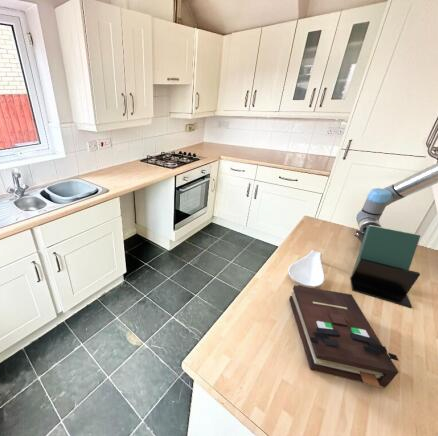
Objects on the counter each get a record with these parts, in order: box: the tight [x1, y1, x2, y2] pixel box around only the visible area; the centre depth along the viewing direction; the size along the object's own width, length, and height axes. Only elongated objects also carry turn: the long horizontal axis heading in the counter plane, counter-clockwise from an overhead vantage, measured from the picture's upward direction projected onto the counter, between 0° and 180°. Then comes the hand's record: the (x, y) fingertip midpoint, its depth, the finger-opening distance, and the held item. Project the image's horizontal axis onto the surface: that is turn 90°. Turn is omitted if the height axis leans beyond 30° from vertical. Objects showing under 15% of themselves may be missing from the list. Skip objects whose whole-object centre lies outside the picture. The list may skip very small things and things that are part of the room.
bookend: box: [349, 258, 421, 309], centre depth 86 cm, size 16×8×10 cm, turn 59°
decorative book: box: [288, 284, 400, 388], centre depth 71 cm, size 19×8×30 cm
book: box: [352, 225, 421, 272], centre depth 91 cm, size 14×20×3 cm
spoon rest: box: [287, 249, 325, 289], centre depth 96 cm, size 24×12×7 cm, turn 138°
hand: (380, 256), depth 93 cm, fingers closed
